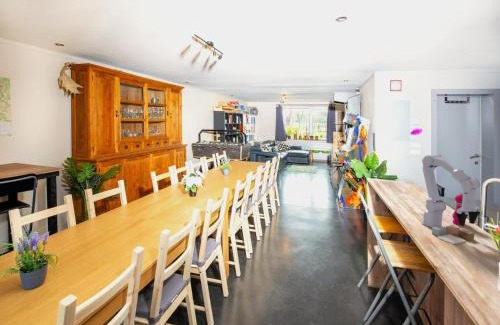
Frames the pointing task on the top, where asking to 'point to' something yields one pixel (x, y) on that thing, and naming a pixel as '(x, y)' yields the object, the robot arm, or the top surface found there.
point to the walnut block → (466, 234)
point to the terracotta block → (452, 229)
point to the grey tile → (451, 239)
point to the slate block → (439, 231)
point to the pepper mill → (457, 207)
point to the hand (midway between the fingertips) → (466, 224)
